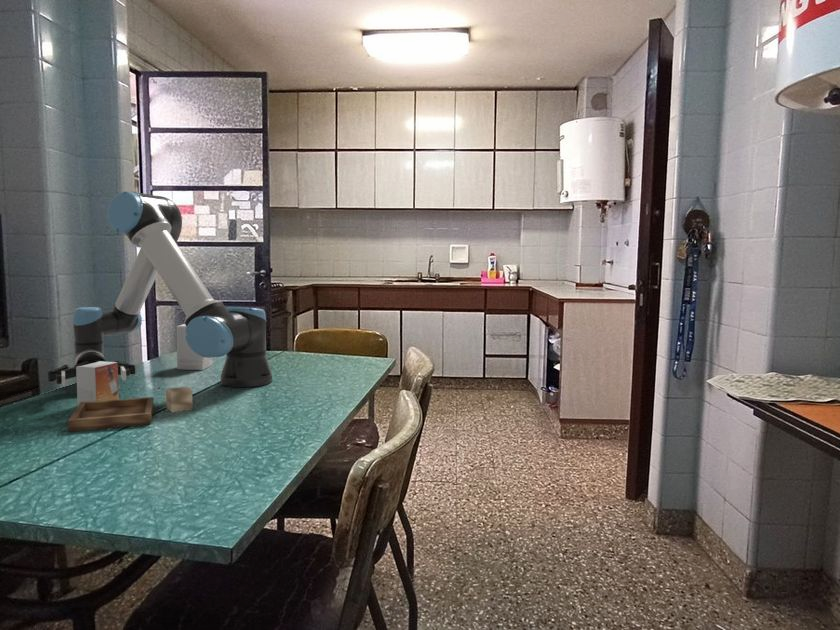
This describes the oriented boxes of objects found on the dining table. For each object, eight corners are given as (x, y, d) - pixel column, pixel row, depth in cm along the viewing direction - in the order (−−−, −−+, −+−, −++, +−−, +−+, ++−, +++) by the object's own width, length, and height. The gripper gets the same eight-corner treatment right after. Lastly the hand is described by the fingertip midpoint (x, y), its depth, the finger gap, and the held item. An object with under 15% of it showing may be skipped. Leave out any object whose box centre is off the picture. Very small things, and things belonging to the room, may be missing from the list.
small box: (96, 409, 137) (94, 367, 136) (76, 407, 138) (75, 366, 137) (119, 401, 145) (118, 361, 144) (101, 399, 146) (99, 360, 145)
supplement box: (203, 370, 185) (202, 326, 183) (176, 369, 185) (175, 325, 183) (213, 365, 194) (212, 323, 192) (188, 364, 194) (187, 322, 192)
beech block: (186, 405, 143) (186, 386, 142) (192, 409, 139) (192, 390, 138) (166, 408, 139) (165, 389, 139) (171, 412, 136) (170, 393, 135)
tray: (153, 406, 140) (153, 397, 140) (150, 424, 126) (150, 413, 125) (80, 412, 134) (80, 402, 134) (68, 431, 119) (68, 420, 119)
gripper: (139, 372, 167) (148, 387, 149) (39, 381, 154) (36, 398, 136) (138, 348, 166) (147, 360, 149) (38, 354, 153) (35, 368, 135)
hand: (94, 378), depth 142 cm, fingers open, 13 cm apart
